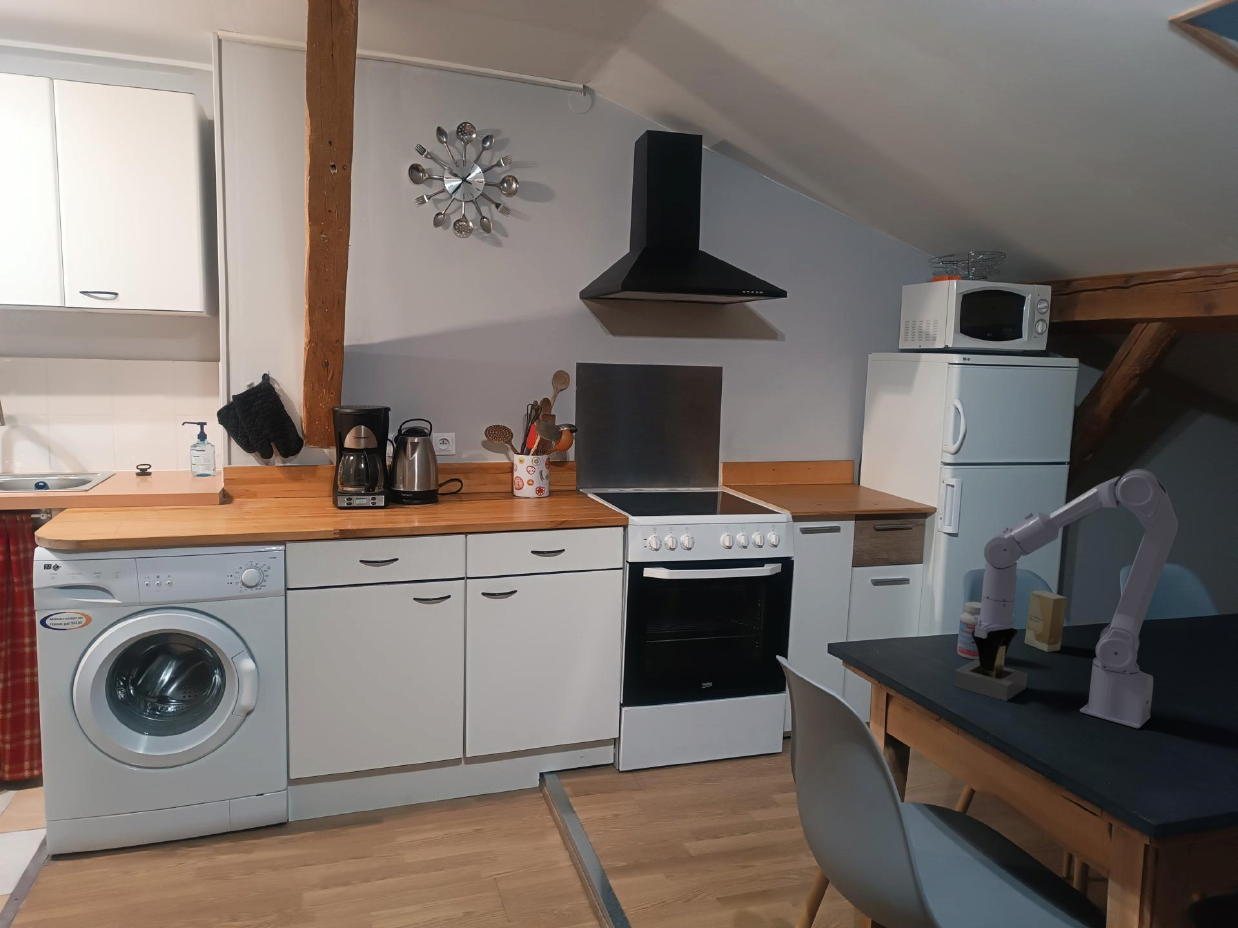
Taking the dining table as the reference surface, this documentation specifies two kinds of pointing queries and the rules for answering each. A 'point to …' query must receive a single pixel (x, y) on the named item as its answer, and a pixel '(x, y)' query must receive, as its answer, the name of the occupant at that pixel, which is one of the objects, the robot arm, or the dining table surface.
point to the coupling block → (990, 681)
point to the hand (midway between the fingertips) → (991, 666)
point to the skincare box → (1045, 620)
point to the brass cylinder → (996, 665)
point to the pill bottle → (968, 631)
